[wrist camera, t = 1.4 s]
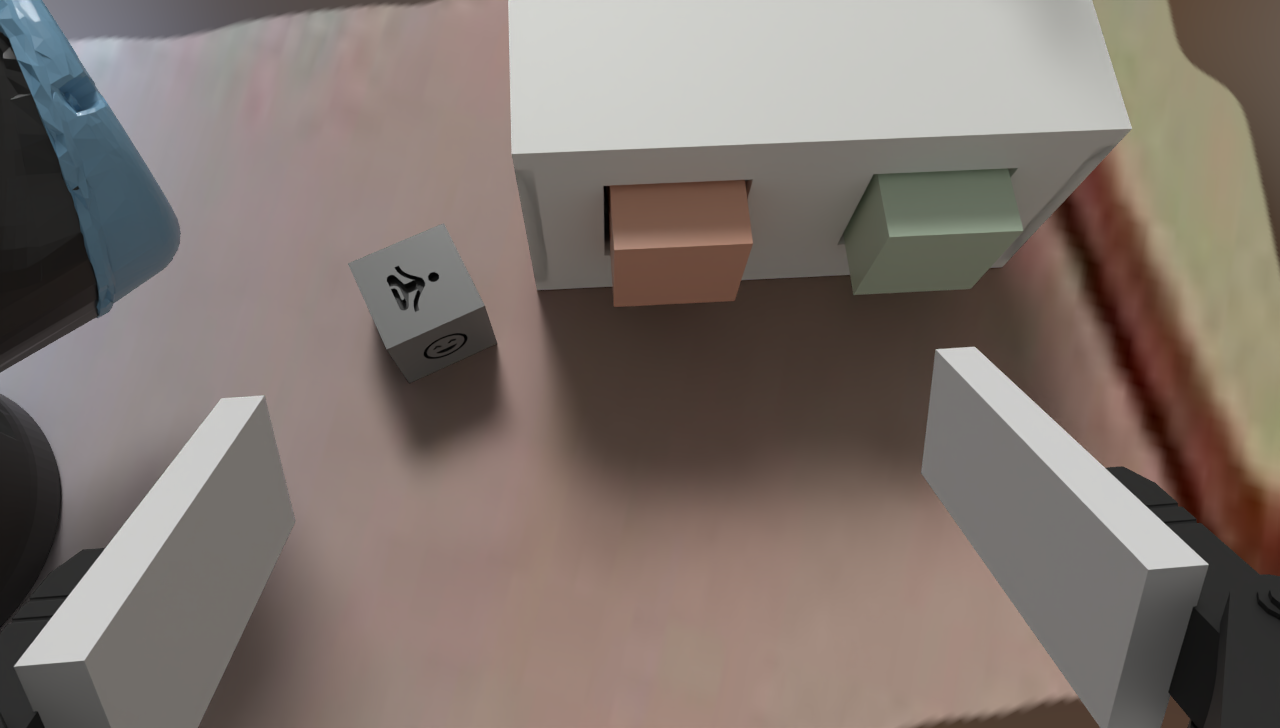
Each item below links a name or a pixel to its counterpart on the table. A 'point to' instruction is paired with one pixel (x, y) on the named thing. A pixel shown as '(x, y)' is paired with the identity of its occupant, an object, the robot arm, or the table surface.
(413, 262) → the dice cube
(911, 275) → the sage button
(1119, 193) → the table surface
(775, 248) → the box
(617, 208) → the terracotta button
